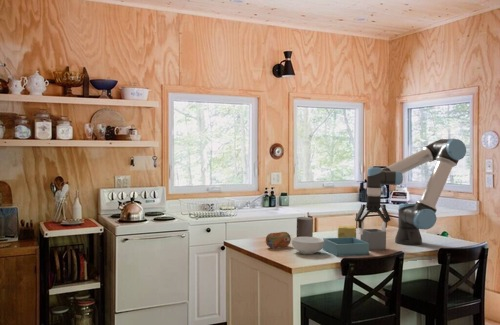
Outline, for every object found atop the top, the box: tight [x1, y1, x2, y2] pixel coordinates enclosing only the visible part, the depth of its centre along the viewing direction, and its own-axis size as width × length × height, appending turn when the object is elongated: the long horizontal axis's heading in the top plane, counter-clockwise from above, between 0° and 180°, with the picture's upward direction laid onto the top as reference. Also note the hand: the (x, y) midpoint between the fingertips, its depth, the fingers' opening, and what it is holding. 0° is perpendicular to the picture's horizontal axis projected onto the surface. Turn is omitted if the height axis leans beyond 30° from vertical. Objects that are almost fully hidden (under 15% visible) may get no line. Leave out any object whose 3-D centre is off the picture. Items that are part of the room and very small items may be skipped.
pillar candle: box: [296, 215, 314, 237], centre depth 287 cm, size 10×10×15 cm
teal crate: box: [322, 237, 370, 257], centre depth 256 cm, size 18×18×6 cm
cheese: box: [337, 225, 357, 238], centre depth 279 cm, size 10×11×10 cm
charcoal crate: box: [360, 228, 387, 252], centre depth 266 cm, size 10×10×10 cm
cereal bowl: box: [291, 236, 324, 255], centre depth 254 cm, size 17×17×7 cm
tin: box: [265, 231, 292, 249], centre depth 268 cm, size 15×3×8 cm, turn 117°
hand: (372, 234), depth 266 cm, fingers open, 13 cm apart
